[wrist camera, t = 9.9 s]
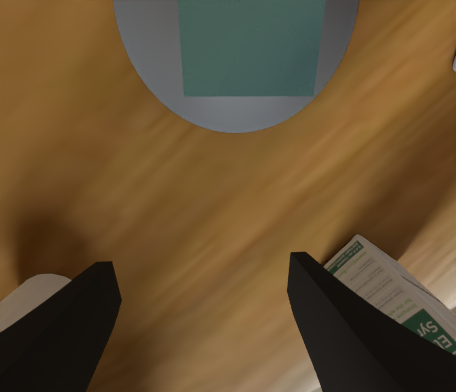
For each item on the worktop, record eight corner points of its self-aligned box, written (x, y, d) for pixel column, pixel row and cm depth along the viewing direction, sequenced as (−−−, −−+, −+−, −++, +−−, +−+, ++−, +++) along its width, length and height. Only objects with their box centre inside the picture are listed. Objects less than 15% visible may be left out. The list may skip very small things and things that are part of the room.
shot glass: (93, 271, 21) (40, 350, 15) (97, 328, 24) (53, 416, 17) (6, 263, 20) (-90, 343, 14) (20, 323, 23) (-55, 413, 17)
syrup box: (356, 230, 21) (605, 477, 8) (400, 262, 23) (669, 512, 9) (310, 275, 23) (448, 542, 9) (354, 302, 24) (525, 562, 11)
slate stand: (367, -141, 12) (387, -170, 11) (327, 128, 17) (337, 131, 16) (99, -152, 12) (84, -184, 10) (139, 130, 17) (133, 134, 15)
